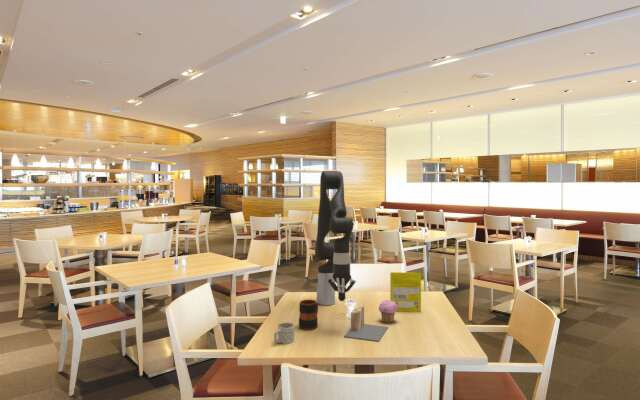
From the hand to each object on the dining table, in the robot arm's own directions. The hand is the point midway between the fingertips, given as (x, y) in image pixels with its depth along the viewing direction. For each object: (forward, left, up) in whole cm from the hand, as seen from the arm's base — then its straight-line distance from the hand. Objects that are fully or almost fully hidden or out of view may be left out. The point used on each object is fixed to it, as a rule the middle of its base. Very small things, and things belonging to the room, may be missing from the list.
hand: (342, 300), depth 193 cm
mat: (+11, 0, -13) cm, 17 cm away
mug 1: (-18, -23, -13) cm, 32 cm away
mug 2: (-15, -1, -13) cm, 20 cm away
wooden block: (+6, -1, -9) cm, 11 cm away
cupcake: (+17, +18, -13) cm, 28 cm away
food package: (+22, +36, -13) cm, 44 cm away
